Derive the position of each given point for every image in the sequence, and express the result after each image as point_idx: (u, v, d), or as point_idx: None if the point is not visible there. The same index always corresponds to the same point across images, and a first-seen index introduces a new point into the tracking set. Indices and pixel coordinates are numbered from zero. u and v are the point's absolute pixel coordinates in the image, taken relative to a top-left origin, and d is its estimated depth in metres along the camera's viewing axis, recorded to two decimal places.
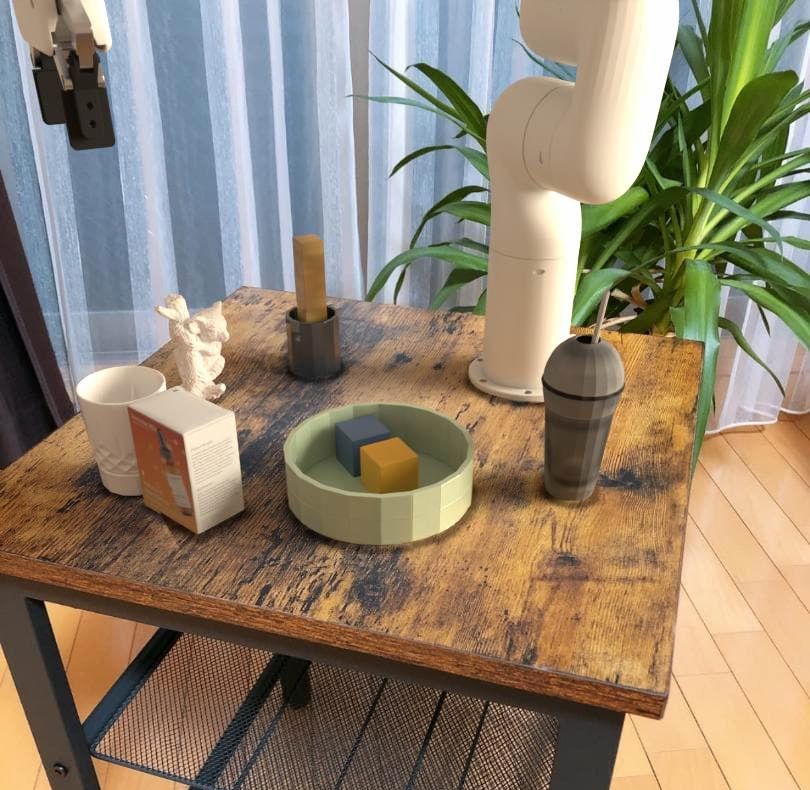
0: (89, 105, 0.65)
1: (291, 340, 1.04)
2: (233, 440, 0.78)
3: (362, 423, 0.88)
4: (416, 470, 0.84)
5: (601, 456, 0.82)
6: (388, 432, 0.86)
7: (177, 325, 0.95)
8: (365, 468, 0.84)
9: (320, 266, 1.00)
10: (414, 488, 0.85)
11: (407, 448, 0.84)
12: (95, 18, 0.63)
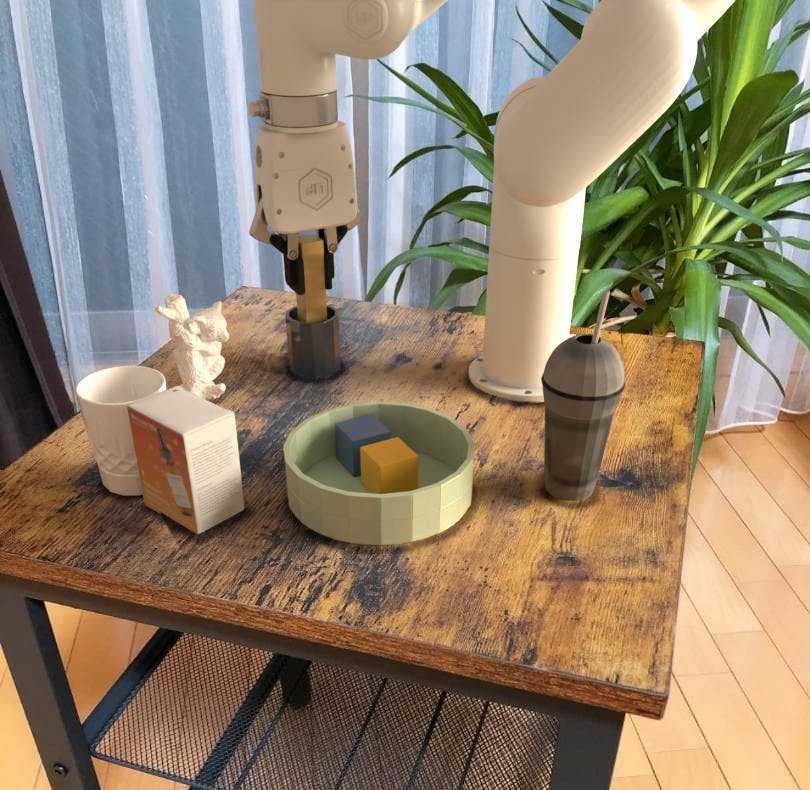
0: None
1: (291, 340, 1.04)
2: (233, 440, 0.78)
3: (362, 423, 0.88)
4: (416, 470, 0.84)
5: (601, 456, 0.82)
6: (388, 432, 0.86)
7: (177, 325, 0.95)
8: (365, 468, 0.84)
9: (320, 266, 1.00)
10: (414, 488, 0.85)
11: (407, 448, 0.84)
12: (266, 211, 0.93)
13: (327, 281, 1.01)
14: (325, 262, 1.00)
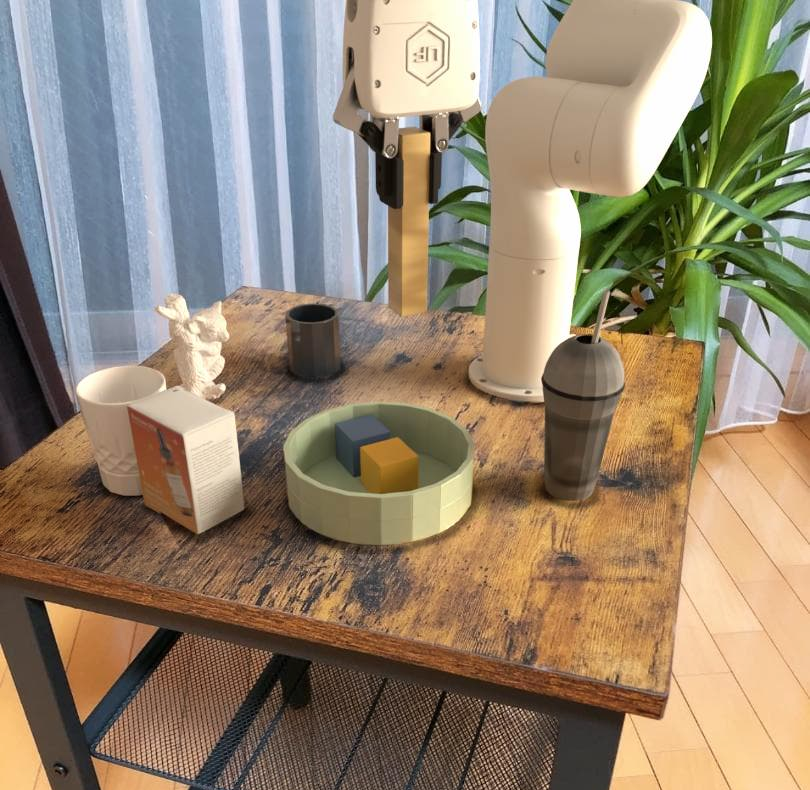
0: None
1: (291, 340, 1.04)
2: (233, 440, 0.78)
3: (362, 423, 0.88)
4: (416, 470, 0.84)
5: (601, 456, 0.82)
6: (388, 432, 0.86)
7: (177, 325, 0.95)
8: (365, 468, 0.84)
9: (424, 170, 0.74)
10: (414, 488, 0.85)
11: (407, 448, 0.84)
12: (360, 84, 0.68)
13: (432, 192, 0.75)
14: (431, 164, 0.74)
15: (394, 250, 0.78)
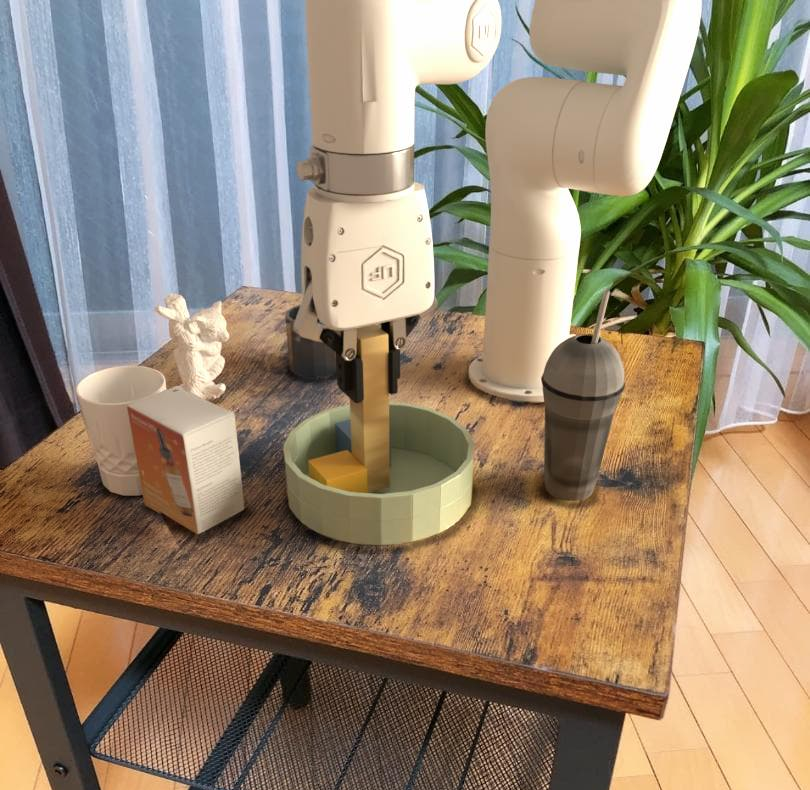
0: None
1: (291, 340, 1.04)
2: (233, 440, 0.78)
3: None
4: (365, 484, 0.82)
5: (601, 456, 0.82)
6: None
7: (177, 325, 0.95)
8: None
9: (383, 366, 0.77)
10: None
11: (356, 461, 0.82)
12: (318, 303, 0.70)
13: (391, 384, 0.78)
14: (390, 361, 0.77)
15: (356, 434, 0.81)
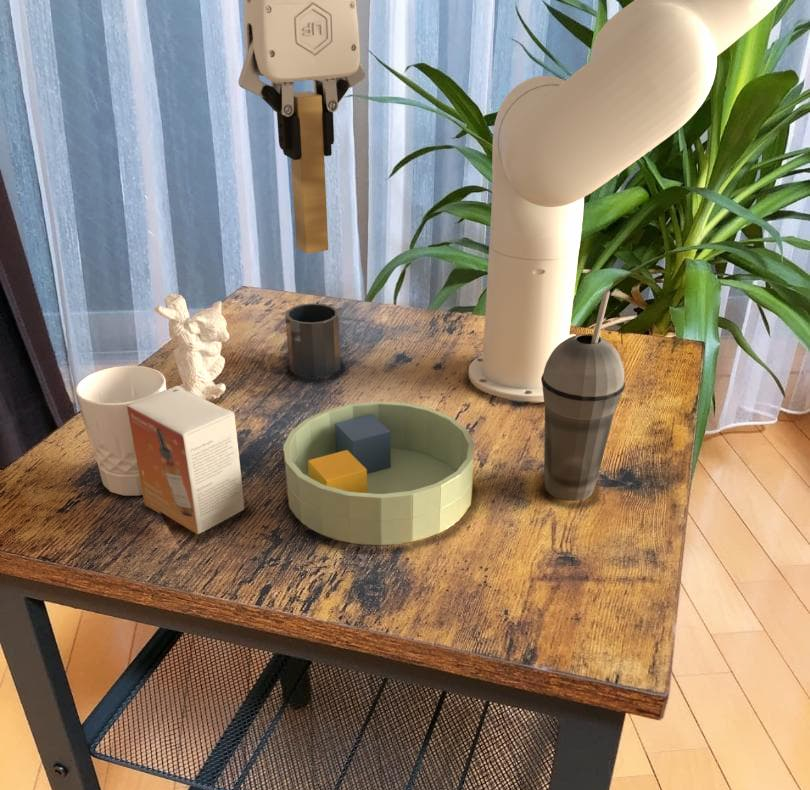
0: None
1: (291, 340, 1.04)
2: (233, 440, 0.78)
3: (362, 423, 0.88)
4: (364, 484, 0.82)
5: (601, 456, 0.82)
6: (388, 432, 0.86)
7: (177, 325, 0.95)
8: None
9: (318, 127, 0.89)
10: None
11: (356, 461, 0.82)
12: (258, 54, 0.83)
13: (326, 145, 0.90)
14: (324, 122, 0.89)
15: (297, 196, 0.93)
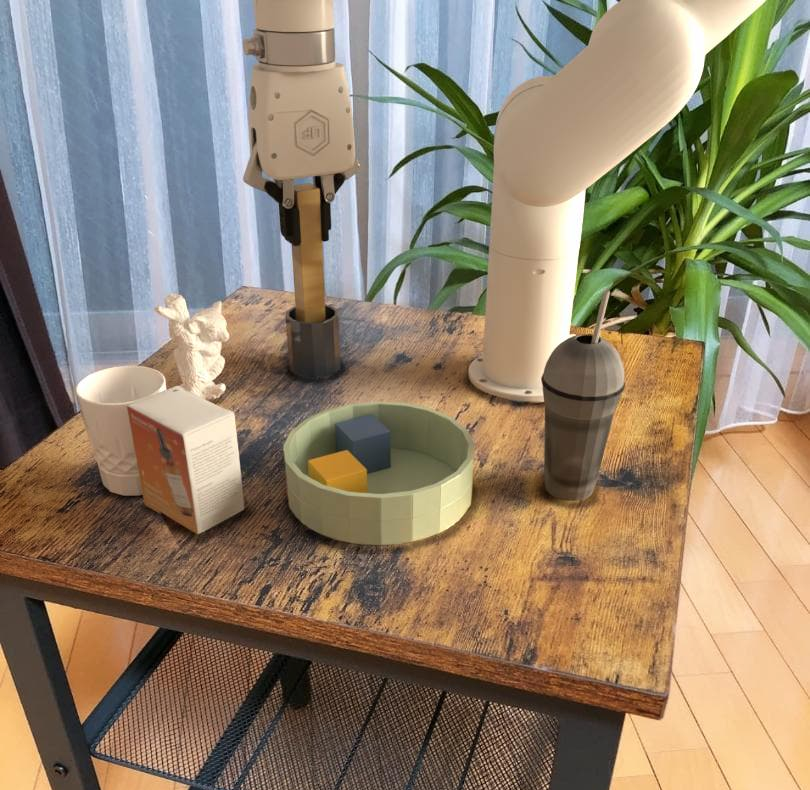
0: None
1: (291, 340, 1.04)
2: (233, 440, 0.78)
3: (362, 423, 0.88)
4: (364, 484, 0.82)
5: (601, 456, 0.82)
6: (388, 432, 0.86)
7: (177, 325, 0.95)
8: None
9: (316, 216, 0.97)
10: None
11: (356, 461, 0.82)
12: (261, 155, 0.90)
13: (324, 232, 0.98)
14: (322, 212, 0.97)
15: (297, 276, 1.01)
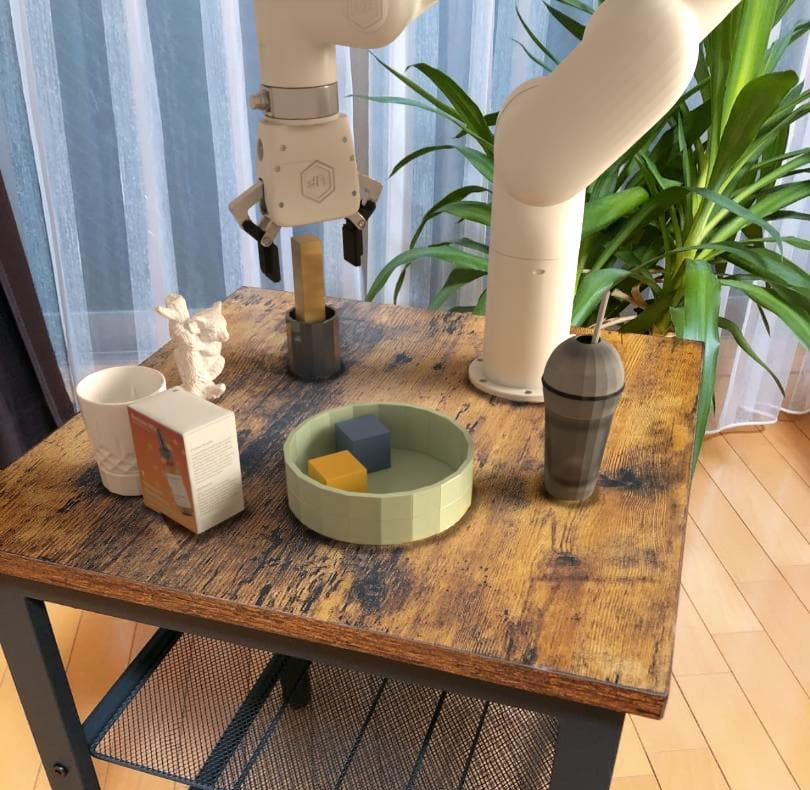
0: None
1: (291, 340, 1.04)
2: (233, 440, 0.78)
3: (362, 423, 0.88)
4: (364, 484, 0.82)
5: (601, 456, 0.82)
6: (388, 432, 0.86)
7: (177, 325, 0.95)
8: None
9: (318, 266, 1.00)
10: None
11: (356, 461, 0.82)
12: (269, 205, 0.93)
13: (356, 258, 1.01)
14: (354, 239, 1.00)
15: None
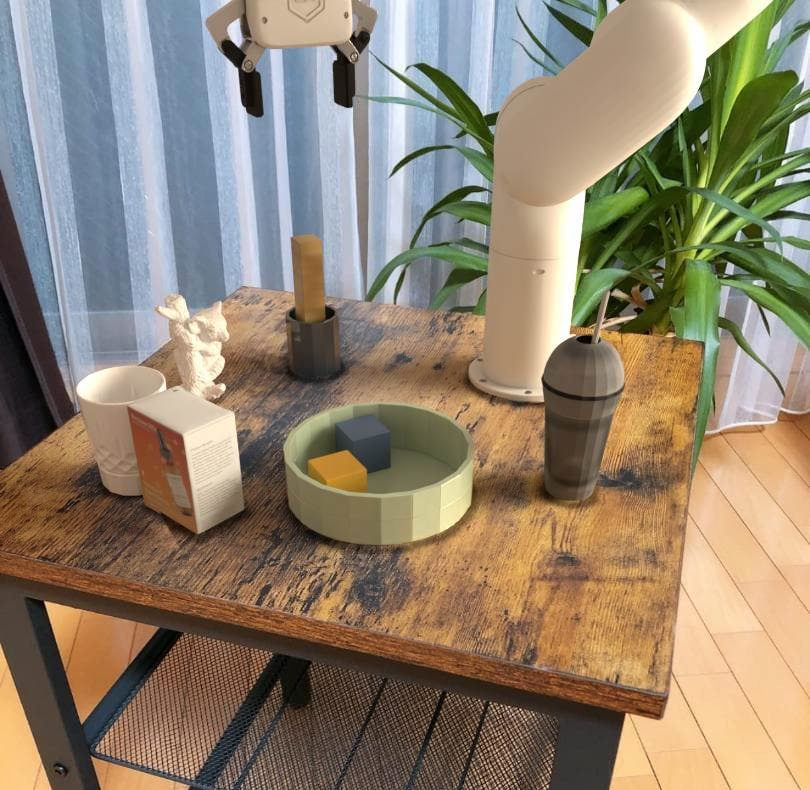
0: None
1: (291, 340, 1.04)
2: (233, 440, 0.78)
3: (362, 423, 0.88)
4: (364, 484, 0.82)
5: (601, 456, 0.82)
6: (388, 432, 0.86)
7: (177, 325, 0.95)
8: None
9: (318, 266, 1.00)
10: None
11: (356, 461, 0.82)
12: (250, 20, 0.83)
13: (347, 97, 0.92)
14: (345, 74, 0.90)
15: None
